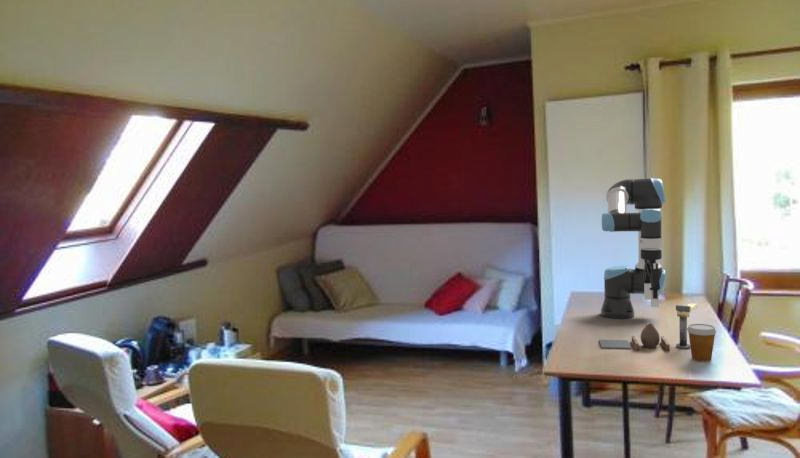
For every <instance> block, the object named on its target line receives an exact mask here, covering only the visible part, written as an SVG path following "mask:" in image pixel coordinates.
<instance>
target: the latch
mask: <svg viewBox="0 0 800 458" xmlns="http://www.w3.org/2000/svg"><path fill="white" fill-rule="evenodd" d="M696 309H697V303H694V302H693V303H691V302H689V304H687V305H684V304H683V305H682V304H676V305H675V311H676V316H677V317H679V318H680V317H687V318H689V317H690V314H691V313H692V312H693V311H694V310H696Z"/></svg>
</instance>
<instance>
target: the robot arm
mask: <svg viewBox="0 0 800 458" xmlns="http://www.w3.org/2000/svg"><path fill="white" fill-rule="evenodd" d="M605 196H606V202H607V212H605V213H602V214H601V230H602V231H603V232H610V233H612V232H613V233H616V232H617V233H618V232H637V233H638V234H637V236H638V239H637V240H638V242H637V243H638V244H637V245H638V248H637V249H638V255H637V256H638V261H637V263H636V264H634V268H632V269H631V266H629V265H616V266H611V267H608V268H606V269H605V270H604V273H603V274H604V275H603V276H604V277H603V279H604V282H603V283H604V299H603V302H602V305H601V309H600V316H602V317H604V318H605V317H606V318H612V319H629V318H633V317H635V309H634V306H633V303H632V300H631V295H637V294H638V295H643V296H644V300H646V301H650V307H651V308H659V305H660V301H659V299H660V298H659V297H660V296H659V295H661V294H662V293H663V291H664V288H665V283H666V282H665V281H666V270H665V269H663V267H662V266H663V265H662V264H661V263H660V262H659V260H661V259H662V258H663V257H662V253H663V252H662V246H663V245H662V244H663V243H662V241H663V240H662V239H663V238H662V219H663V216H662V210H661V209H663V208H662V207H663V205H664V204H666V195H665V189H664V183H663V180H662V179H660V178H652V177H651V178H633V179H631V178H630V179H623V180H619V181H617V182H615V183H614V184H613V185H612V186H610V187H609V188H608V190H607V192H606V195H605ZM627 205H631V206H632V205H634V209H635V211H637V212H627Z"/></svg>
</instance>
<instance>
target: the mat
mask: <svg viewBox="0 0 800 458" xmlns="http://www.w3.org/2000/svg"><path fill="white" fill-rule="evenodd" d="M598 341H599V345H600V347H601V349H603V350H604V349H608V350H632V346H631V344H630V342H629V340H628V339H599V340H598Z"/></svg>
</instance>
